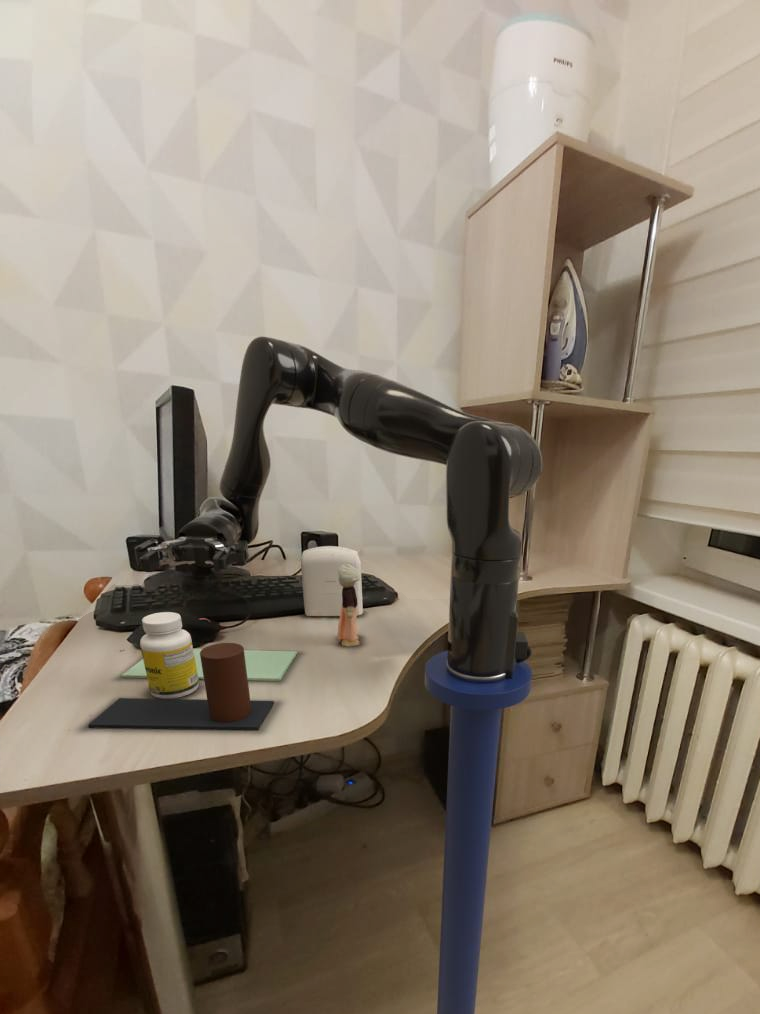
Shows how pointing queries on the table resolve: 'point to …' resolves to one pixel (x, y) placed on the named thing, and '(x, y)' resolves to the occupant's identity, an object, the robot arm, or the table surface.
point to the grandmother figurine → (348, 605)
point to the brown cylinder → (226, 682)
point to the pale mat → (257, 665)
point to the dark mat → (174, 715)
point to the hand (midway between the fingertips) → (182, 565)
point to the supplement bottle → (168, 656)
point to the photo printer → (327, 579)
